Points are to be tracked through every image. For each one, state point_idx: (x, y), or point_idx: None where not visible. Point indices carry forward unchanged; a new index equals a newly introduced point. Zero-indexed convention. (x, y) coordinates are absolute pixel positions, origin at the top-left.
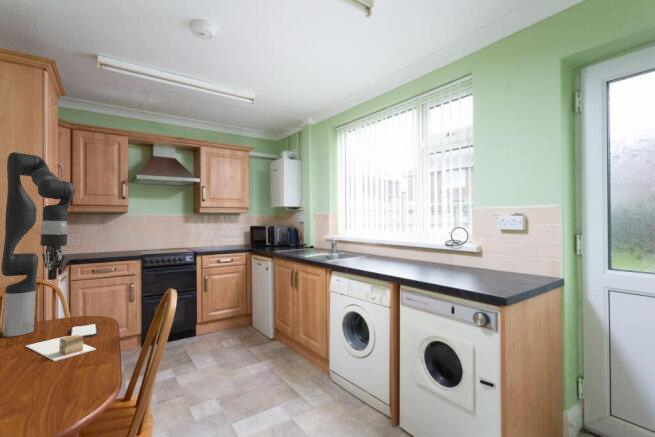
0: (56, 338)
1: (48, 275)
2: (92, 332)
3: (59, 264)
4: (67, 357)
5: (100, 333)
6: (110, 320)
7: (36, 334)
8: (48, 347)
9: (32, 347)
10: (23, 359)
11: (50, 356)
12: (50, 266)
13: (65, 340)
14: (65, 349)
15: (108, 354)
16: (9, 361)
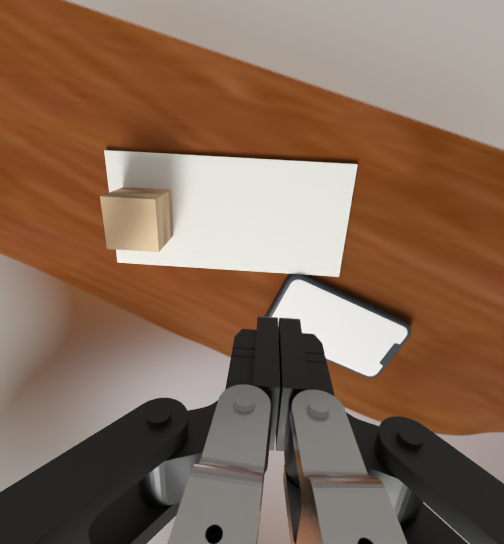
0: (342, 252)
1: (276, 339)
2: None
3: (106, 510)
4: (109, 186)
5: None
6: None
7: (479, 244)
8: (259, 195)
9: (310, 167)
10: (211, 104)
11: (152, 159)
12: (210, 426)
13: (106, 196)
14: (117, 190)
15: (47, 258)
16: (230, 68)
